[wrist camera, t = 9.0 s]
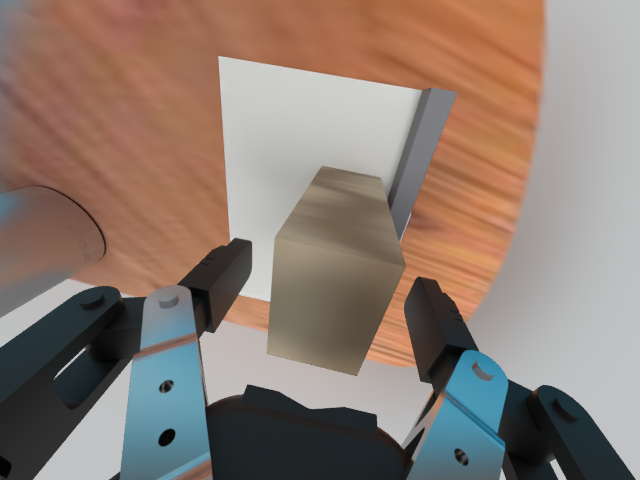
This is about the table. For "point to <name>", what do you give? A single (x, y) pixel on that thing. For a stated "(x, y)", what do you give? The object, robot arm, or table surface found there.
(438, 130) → the shelf
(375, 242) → the tea box
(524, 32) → the table surface
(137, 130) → the table surface
